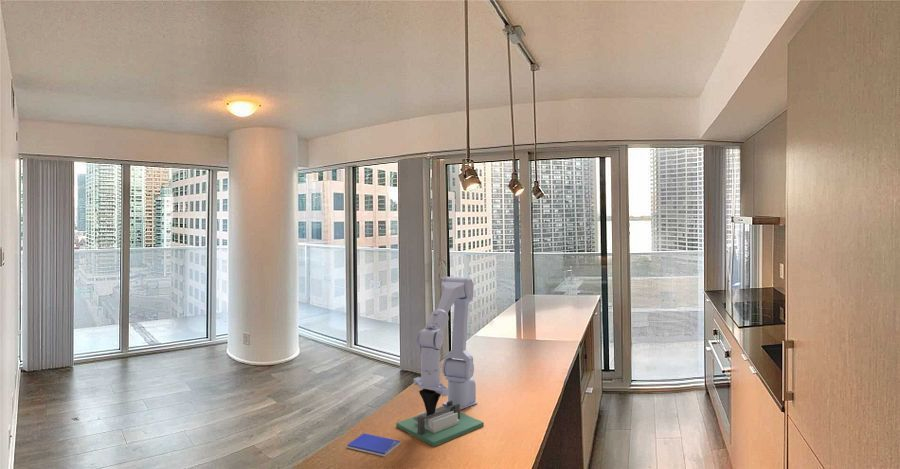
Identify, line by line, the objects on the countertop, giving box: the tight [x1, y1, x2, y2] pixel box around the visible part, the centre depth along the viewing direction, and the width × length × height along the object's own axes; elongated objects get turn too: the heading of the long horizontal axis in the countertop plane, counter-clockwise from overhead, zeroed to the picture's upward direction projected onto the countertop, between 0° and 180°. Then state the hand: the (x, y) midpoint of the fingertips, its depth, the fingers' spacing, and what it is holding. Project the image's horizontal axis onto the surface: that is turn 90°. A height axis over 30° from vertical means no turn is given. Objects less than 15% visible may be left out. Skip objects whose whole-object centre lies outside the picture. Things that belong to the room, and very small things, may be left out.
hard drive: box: [346, 433, 401, 457], centre depth 135 cm, size 2×8×12 cm
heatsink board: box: [395, 401, 485, 447], centre depth 147 cm, size 20×18×6 cm
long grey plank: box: [413, 404, 454, 421], centre depth 146 cm, size 15×2×1 cm, turn 132°
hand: (430, 413), depth 144 cm, fingers closed, pressing on long grey plank
